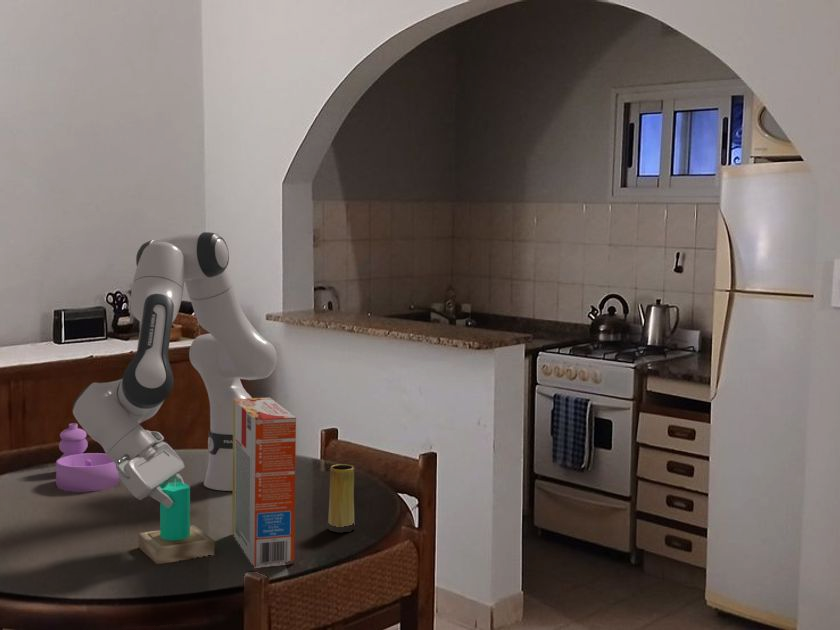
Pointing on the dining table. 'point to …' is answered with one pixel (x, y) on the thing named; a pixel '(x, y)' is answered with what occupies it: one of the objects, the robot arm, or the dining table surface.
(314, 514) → the dining table surface
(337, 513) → the vase
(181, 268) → the robot arm
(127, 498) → the dining table surface
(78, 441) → the container set
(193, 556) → the base block
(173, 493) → the candle
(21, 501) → the dining table surface
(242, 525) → the cereal box
